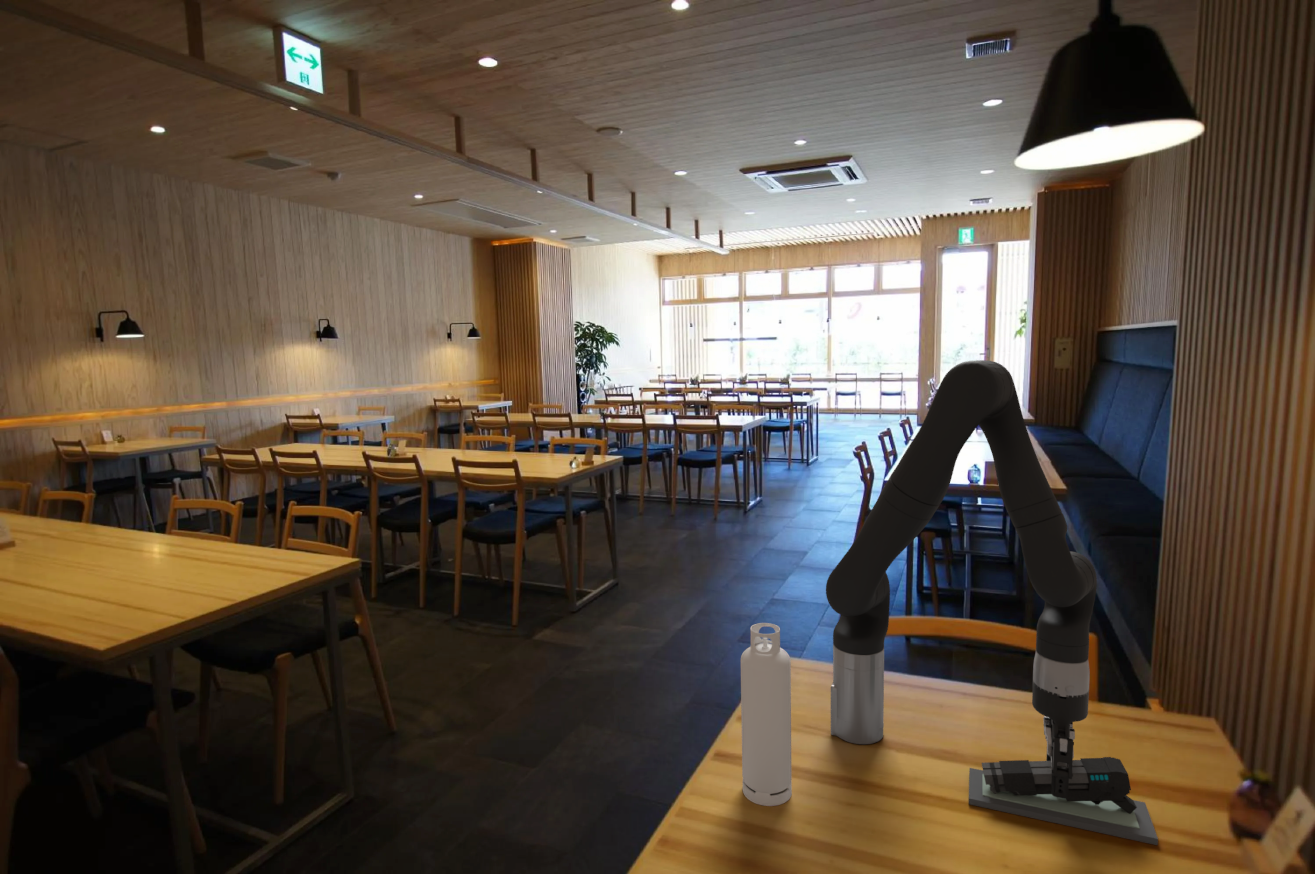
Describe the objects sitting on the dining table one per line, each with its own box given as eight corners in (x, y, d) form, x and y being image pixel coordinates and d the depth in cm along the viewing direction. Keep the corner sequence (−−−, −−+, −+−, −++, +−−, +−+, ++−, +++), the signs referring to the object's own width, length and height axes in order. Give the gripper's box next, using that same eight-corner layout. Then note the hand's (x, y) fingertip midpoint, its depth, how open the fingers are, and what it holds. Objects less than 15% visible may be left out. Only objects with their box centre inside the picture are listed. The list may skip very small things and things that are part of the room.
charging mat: (968, 804, 112) (968, 796, 112) (969, 773, 120) (969, 766, 120) (1157, 845, 102) (1158, 837, 102) (1144, 808, 110) (1145, 801, 110)
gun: (1144, 817, 105) (1121, 755, 105) (1004, 835, 112) (982, 776, 112) (1134, 799, 110) (1112, 739, 110) (1000, 818, 116) (979, 761, 116)
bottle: (795, 780, 120) (794, 621, 117) (787, 809, 112) (786, 640, 109) (748, 772, 122) (745, 617, 119) (737, 800, 115) (735, 635, 112)
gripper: (1030, 659, 117) (1027, 751, 119) (1036, 698, 104) (1032, 801, 106) (1082, 666, 114) (1078, 761, 116) (1095, 707, 101) (1090, 813, 103)
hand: (1056, 780), depth 111 cm, fingers open, 8 cm apart
